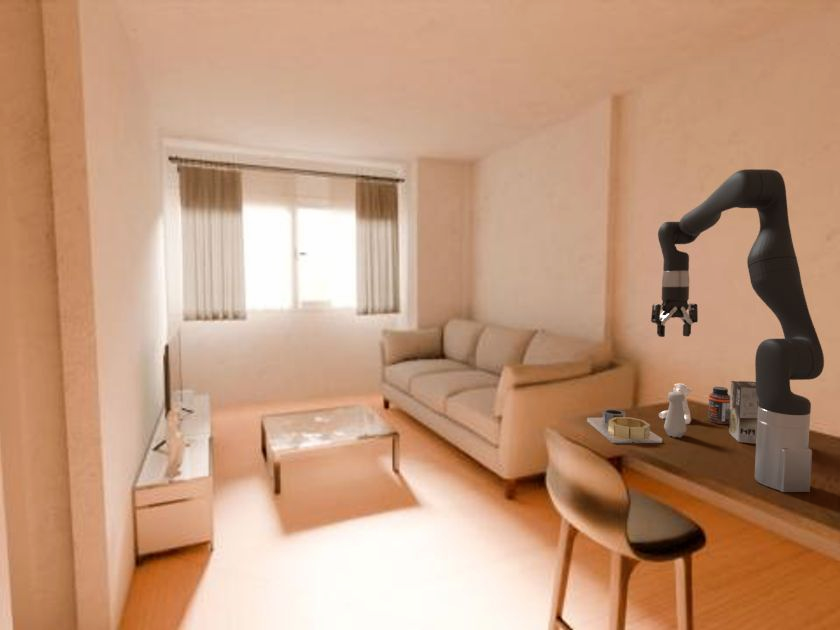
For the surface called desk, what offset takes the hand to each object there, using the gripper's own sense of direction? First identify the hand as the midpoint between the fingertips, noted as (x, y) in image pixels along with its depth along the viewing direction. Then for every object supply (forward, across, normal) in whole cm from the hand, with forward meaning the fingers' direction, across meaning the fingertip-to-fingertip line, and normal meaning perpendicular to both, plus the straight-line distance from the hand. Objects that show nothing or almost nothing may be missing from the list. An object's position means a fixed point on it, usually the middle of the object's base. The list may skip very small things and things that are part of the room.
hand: (673, 336), depth 145 cm
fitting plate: (+28, -20, -5) cm, 35 cm away
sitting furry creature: (+28, +5, +4) cm, 29 cm away
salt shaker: (+28, -6, -11) cm, 31 cm away
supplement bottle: (+28, +16, -1) cm, 33 cm away
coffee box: (+29, +12, -16) cm, 35 cm away
